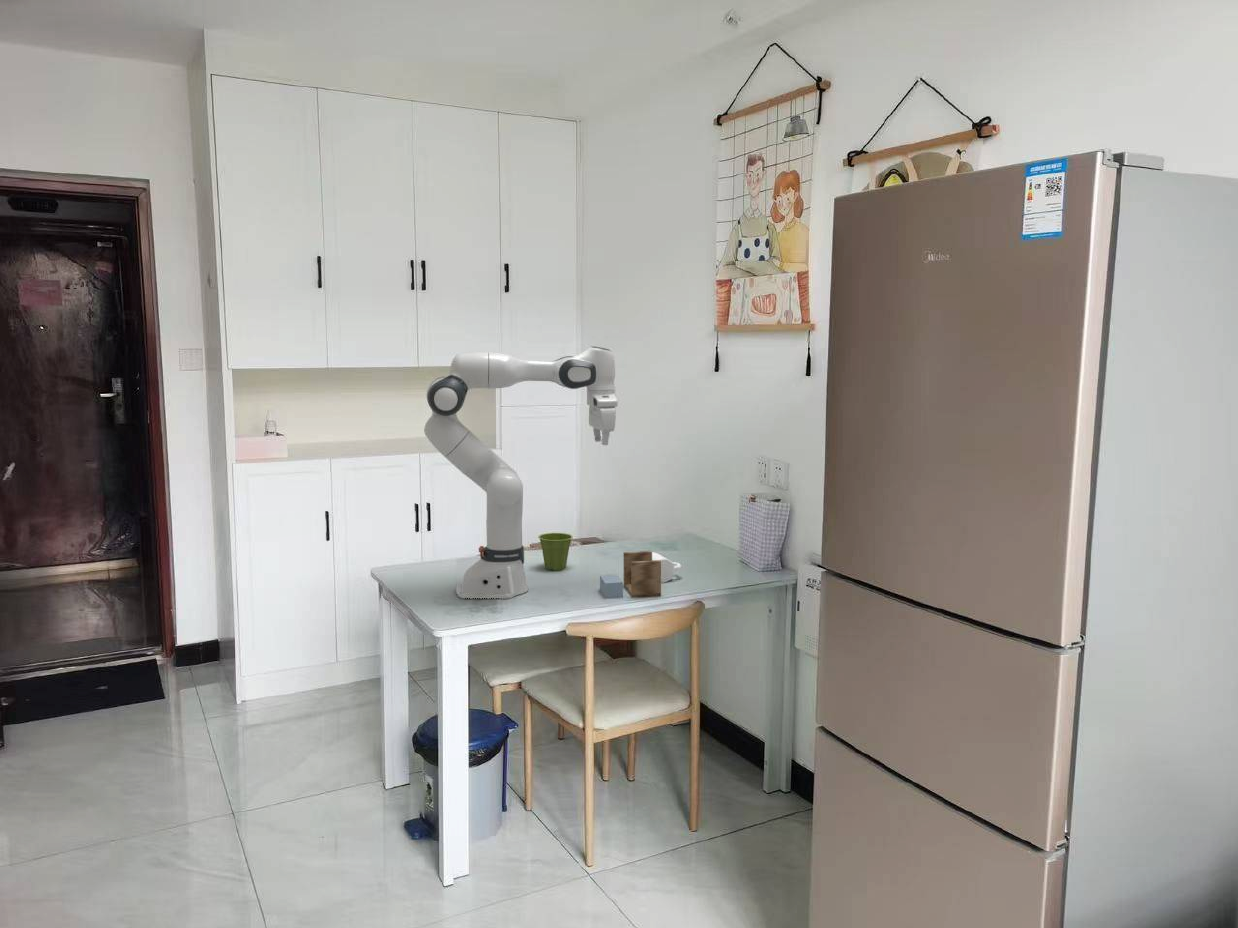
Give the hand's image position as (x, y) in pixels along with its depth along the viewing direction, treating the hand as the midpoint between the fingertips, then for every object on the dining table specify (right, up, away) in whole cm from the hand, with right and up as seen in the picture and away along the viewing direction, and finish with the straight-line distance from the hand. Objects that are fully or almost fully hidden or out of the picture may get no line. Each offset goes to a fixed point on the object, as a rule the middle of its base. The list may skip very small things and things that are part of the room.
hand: (601, 443), depth 284 cm
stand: (+13, -46, +1) cm, 48 cm away
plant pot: (-16, -43, +28) cm, 54 cm away
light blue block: (+3, -47, -2) cm, 47 cm away
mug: (+20, -45, +15) cm, 51 cm away
